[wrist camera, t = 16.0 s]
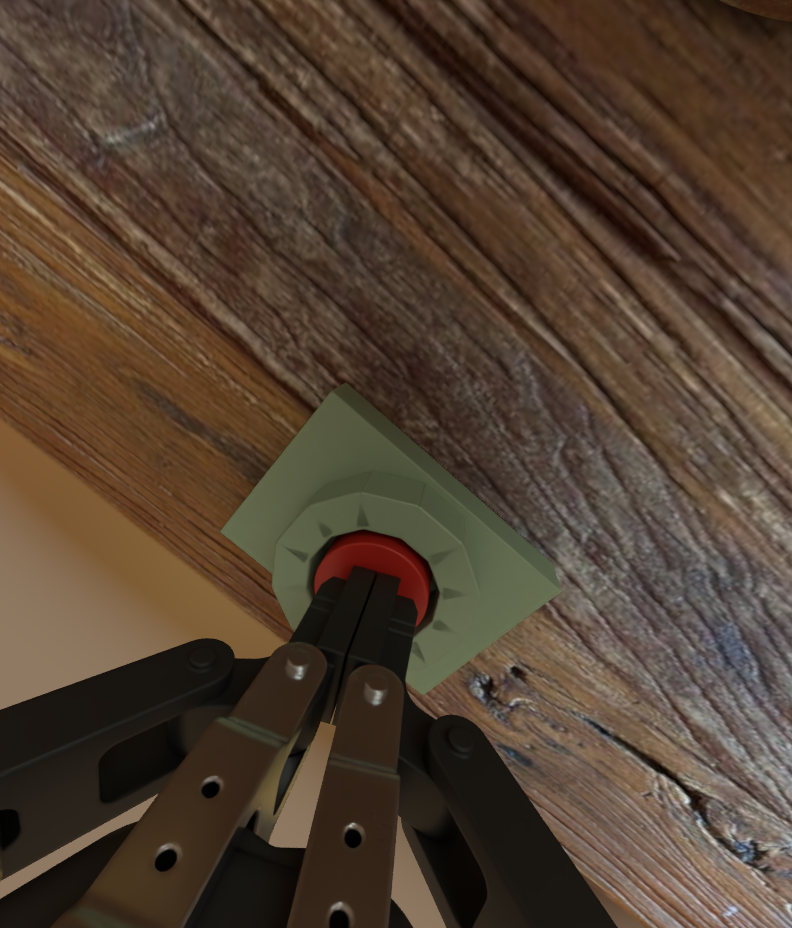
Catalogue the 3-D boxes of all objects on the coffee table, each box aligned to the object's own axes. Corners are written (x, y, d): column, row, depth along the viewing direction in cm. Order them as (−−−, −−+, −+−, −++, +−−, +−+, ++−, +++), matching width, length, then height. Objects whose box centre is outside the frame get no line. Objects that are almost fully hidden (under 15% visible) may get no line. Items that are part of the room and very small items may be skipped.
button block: (241, 511, 18) (189, 557, 15) (346, 381, 15) (311, 402, 12) (427, 663, 19) (417, 737, 16) (553, 564, 16) (572, 628, 13)
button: (310, 562, 16) (291, 592, 14) (373, 496, 15) (361, 520, 13) (387, 625, 16) (377, 661, 15) (455, 565, 15) (452, 597, 13)
